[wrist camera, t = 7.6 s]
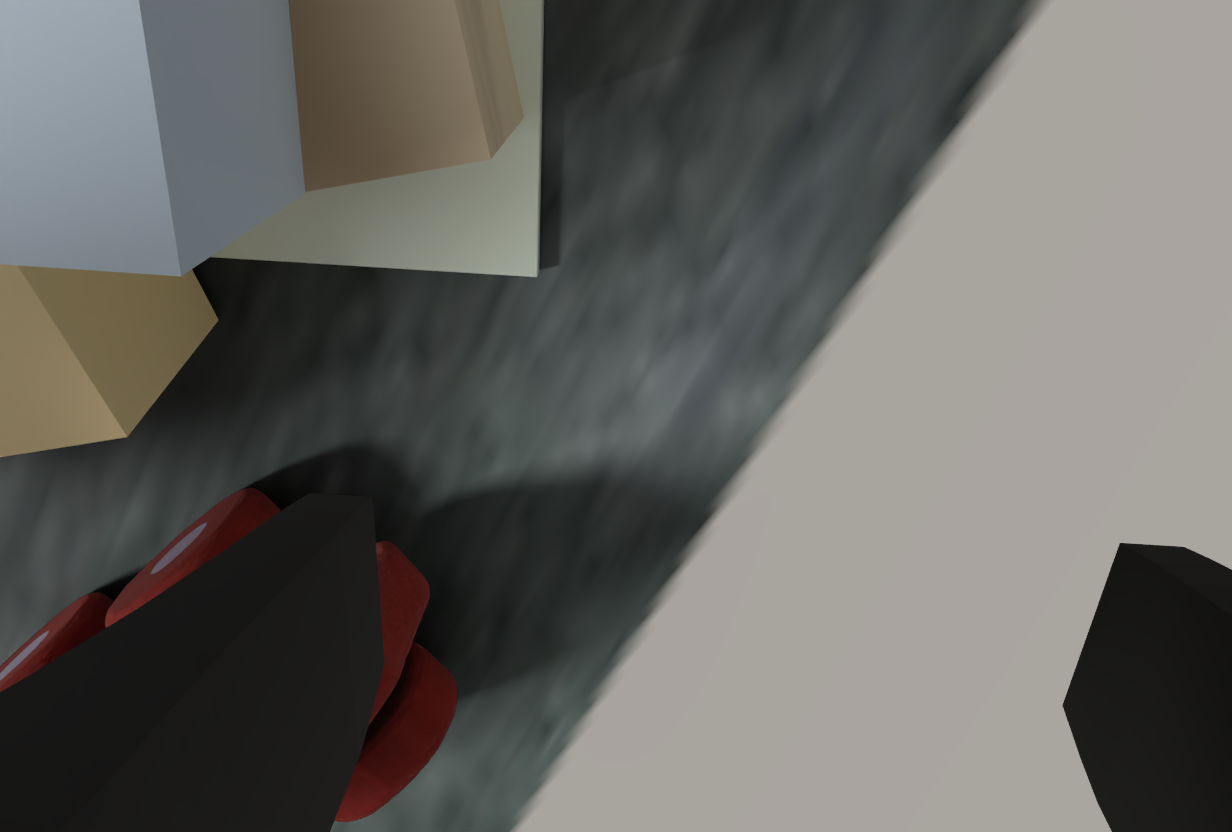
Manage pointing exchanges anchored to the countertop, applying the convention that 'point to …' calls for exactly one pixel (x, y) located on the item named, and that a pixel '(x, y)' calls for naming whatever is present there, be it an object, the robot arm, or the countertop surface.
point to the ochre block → (90, 351)
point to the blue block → (143, 130)
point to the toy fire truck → (412, 677)
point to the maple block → (400, 86)
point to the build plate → (431, 198)
